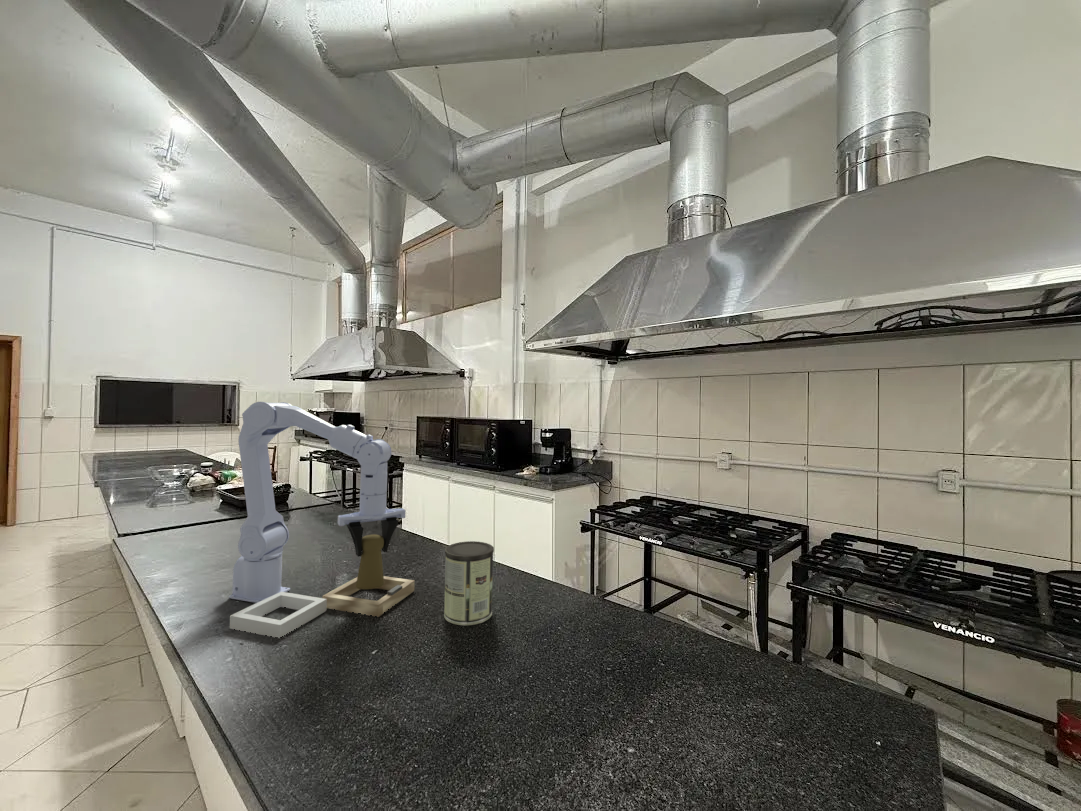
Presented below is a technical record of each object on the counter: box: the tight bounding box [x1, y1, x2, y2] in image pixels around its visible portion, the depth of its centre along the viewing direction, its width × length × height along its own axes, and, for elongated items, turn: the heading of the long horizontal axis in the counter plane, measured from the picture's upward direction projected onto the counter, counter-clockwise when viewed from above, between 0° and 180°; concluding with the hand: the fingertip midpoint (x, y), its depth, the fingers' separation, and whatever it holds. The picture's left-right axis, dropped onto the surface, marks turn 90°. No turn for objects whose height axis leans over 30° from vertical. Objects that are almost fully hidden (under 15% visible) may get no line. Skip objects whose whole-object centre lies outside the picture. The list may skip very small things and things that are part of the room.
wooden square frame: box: [321, 575, 416, 618], centre depth 101 cm, size 14×14×3 cm
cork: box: [356, 533, 385, 590], centre depth 101 cm, size 6×6×11 cm
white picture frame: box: [229, 591, 328, 639], centre depth 91 cm, size 12×12×2 cm
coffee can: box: [443, 540, 495, 626], centre depth 95 cm, size 10×10×14 cm
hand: (371, 553), depth 101 cm, fingers closed on cork, 5 cm apart
